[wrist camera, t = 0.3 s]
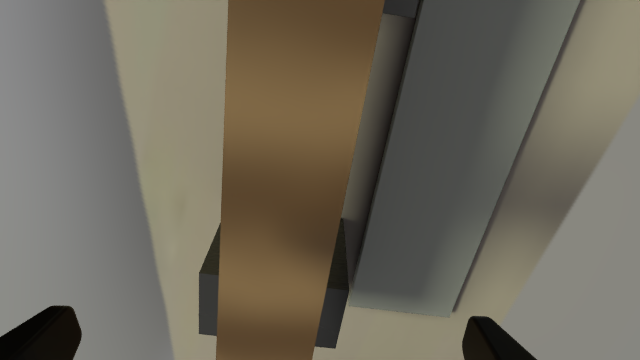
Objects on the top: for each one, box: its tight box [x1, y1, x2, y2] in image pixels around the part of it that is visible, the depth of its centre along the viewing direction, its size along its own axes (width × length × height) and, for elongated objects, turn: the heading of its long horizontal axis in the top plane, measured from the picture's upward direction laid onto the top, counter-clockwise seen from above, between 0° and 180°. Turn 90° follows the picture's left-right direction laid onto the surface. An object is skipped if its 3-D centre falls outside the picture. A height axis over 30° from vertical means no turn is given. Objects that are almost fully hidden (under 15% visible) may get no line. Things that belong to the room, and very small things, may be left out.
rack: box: [199, 0, 419, 348], centre depth 18 cm, size 20×7×6 cm, turn 172°
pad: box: [348, 0, 580, 317], centre depth 21 cm, size 25×7×1 cm, turn 172°
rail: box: [216, 0, 385, 360], centre depth 15 cm, size 22×4×4 cm, turn 172°
